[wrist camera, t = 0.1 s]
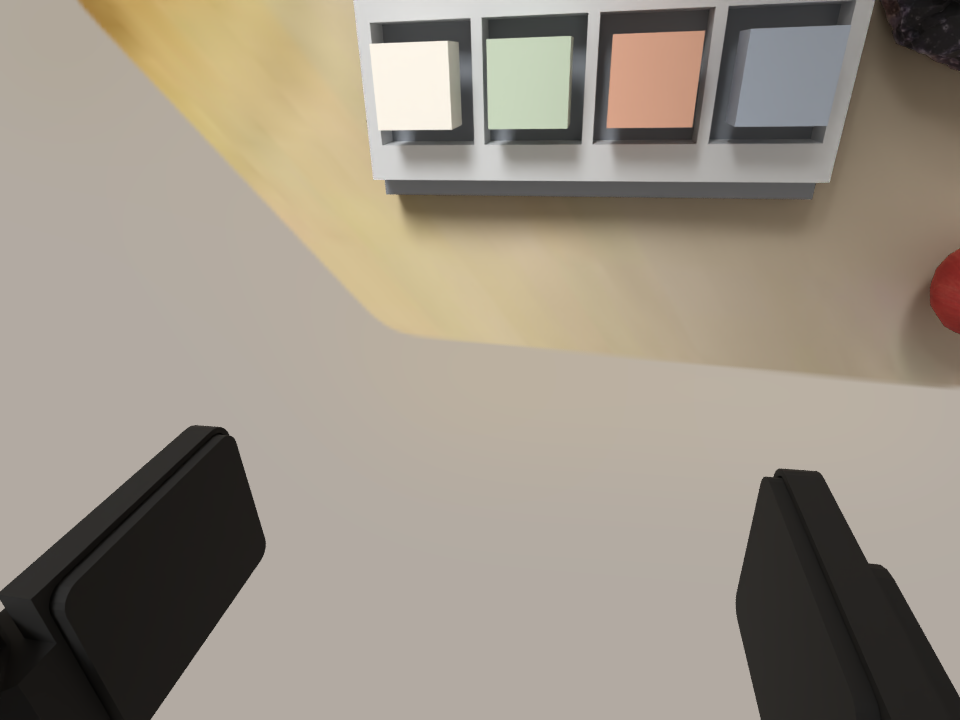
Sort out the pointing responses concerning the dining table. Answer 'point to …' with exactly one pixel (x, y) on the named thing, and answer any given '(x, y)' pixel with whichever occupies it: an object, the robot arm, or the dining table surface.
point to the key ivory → (417, 85)
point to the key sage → (529, 82)
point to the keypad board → (605, 104)
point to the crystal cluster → (927, 27)
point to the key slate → (786, 76)
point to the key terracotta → (654, 79)
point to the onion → (947, 292)
